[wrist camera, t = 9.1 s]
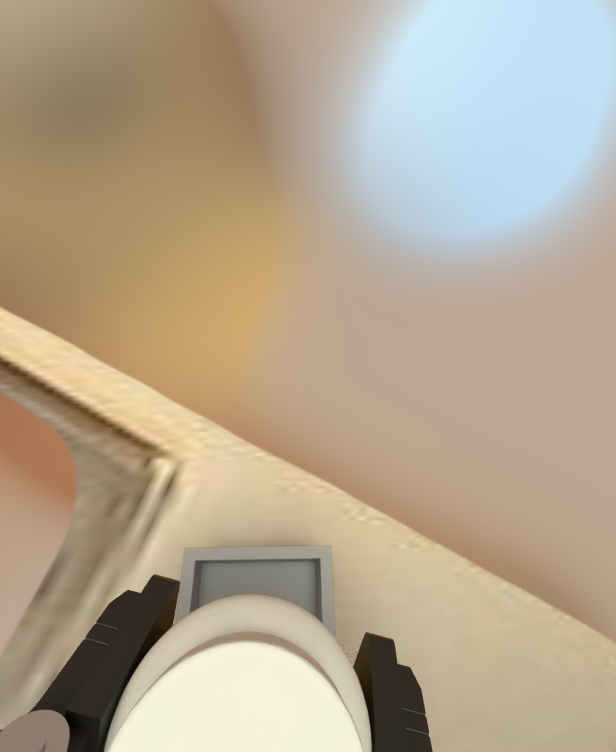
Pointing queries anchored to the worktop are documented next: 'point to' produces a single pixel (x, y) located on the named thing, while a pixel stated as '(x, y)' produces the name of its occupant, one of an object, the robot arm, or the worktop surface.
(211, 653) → the supplement bottle
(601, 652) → the worktop surface
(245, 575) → the tower top
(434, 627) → the worktop surface
